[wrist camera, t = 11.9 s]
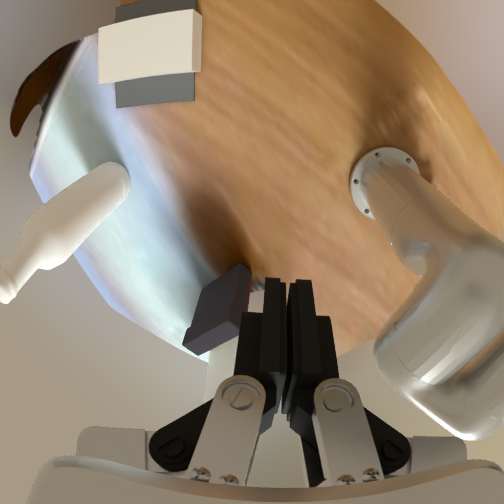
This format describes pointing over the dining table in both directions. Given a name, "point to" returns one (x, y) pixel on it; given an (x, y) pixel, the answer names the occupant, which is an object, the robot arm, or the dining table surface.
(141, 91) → the mat
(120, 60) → the flip block
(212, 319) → the dark grey box
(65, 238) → the bottle
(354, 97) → the dining table surface
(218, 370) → the milk
